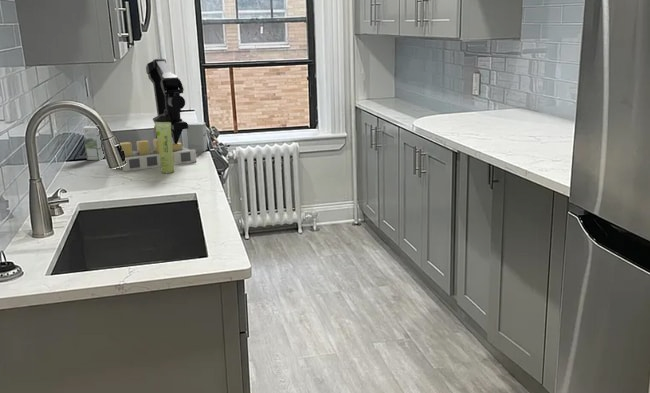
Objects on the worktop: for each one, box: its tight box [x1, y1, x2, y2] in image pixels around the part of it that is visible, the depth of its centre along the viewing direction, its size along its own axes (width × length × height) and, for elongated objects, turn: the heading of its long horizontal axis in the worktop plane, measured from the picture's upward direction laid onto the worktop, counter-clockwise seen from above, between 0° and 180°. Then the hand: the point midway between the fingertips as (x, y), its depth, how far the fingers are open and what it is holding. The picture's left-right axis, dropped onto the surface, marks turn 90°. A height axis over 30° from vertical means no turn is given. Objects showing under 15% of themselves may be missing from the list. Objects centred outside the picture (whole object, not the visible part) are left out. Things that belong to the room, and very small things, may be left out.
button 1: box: [172, 141, 183, 151], centre depth 262 cm, size 4×4×6 cm
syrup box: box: [82, 125, 105, 161], centre depth 263 cm, size 6×6×14 cm
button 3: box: [136, 139, 150, 155], centre depth 254 cm, size 4×4×6 cm
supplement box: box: [186, 121, 208, 153], centre depth 277 cm, size 7×7×13 cm
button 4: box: [119, 141, 133, 157], centre depth 251 cm, size 4×4×6 cm
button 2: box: [152, 138, 159, 153], centre depth 258 cm, size 4×4×6 cm
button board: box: [120, 145, 190, 170], centre depth 257 cm, size 14×30×4 cm, turn 122°
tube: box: [154, 122, 175, 174], centre depth 236 cm, size 6×5×20 cm
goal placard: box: [122, 150, 197, 172], centre depth 248 cm, size 1×30×5 cm, turn 121°
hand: (175, 143), depth 261 cm, fingers closed, pressing on button 1
